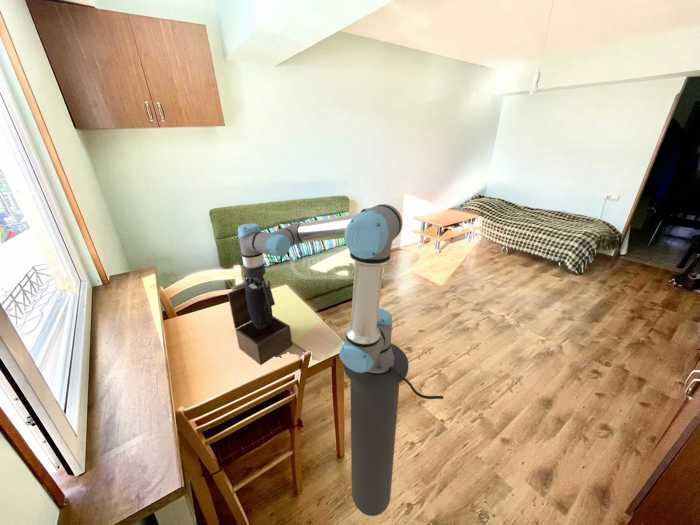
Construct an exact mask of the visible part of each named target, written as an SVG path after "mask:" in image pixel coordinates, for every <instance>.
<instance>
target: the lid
mask: <svg viewBox="0 0 700 525" xmlns="http://www.w3.org/2000/svg"><path fill="white" fill-rule="evenodd" d="M230 289H231V291H230V292H227V297H228V302H229V308H230V311H231V317H232V322H233V327H234V330H235V329H237V328H239V327H241V326H243V325H245V324H247V323H249V322H251V321H252V320H251V318H250V315H249V311H248V306H247V301H246V294H245V281H243V282H241V283H238V284H236V285H232V286H231V288H230Z"/></svg>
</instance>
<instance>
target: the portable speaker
mask: <svg viewBox="0 0 700 525" xmlns="http://www.w3.org/2000/svg"><path fill="white" fill-rule="evenodd" d="M245 292H246V301H247V306H248V311H249V315H250V318H251V320H252V323H253V325H254V326H255V327H256V328H257V329H264V328H266V327H267V325H269V324H270V323H271V322H272V319H270V320H268V321H266V317H265V310H264V306H265V304H264V299H263V297H265V294H264V291H263V287H262V285H261V286H259V287H256V286H255V285H254V283H252V284H251V283H250V282H247V283H246V284H245Z"/></svg>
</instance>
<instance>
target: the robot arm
mask: <svg viewBox="0 0 700 525" xmlns="http://www.w3.org/2000/svg"><path fill="white" fill-rule="evenodd" d="M402 229H403V218H402V215H401V213H400V211H399V210H398V209H397V208H395V207H394V206H392V205H390V204H386V203H383V204H382V203H381V204H376V205H375V206H372V207H368V208H363V209H361V210H360V212H358V213H351V214H345V215H340V216H334V217H329V218H322V219H318V220H312V221H306V222H300V221H299V222H294V223H292V224H289V225H287V226H285V227H283V228H280V229H277V230H274V231H271V232H266V231H261V228H260V225H259V224H257V223H253V222H251V223H244V224H241V225H239V226H238V227H237V236H238V241H239V247H240V251H241V258H242V259H241V260H242V264H243V270H244V274H243V277H244V282H245V284H246V283H247V282H250V283H251V284H252V283H254V285H255V286H256V287H259V286H261V285H262V287H263V291H264V294H265V297H263V299H264V304H265V306H264V310H265V317H266V321H268V320H270V319H272V318H273V316H274V315H273V308H272V307H273V306H274V305H276V303H275V299H274V296H273V292H272V288H271V282H270V281H269V280H265V278H264V275H265V274H266V273H267V272H266V265H265V259H264V258H265V257H264V254H265V255H269V256H273V257H284V256H286V255H287V254H288V252H289V251H290V249H291V247H293V246H296V245H298V244H307V243H312V242H313V243H314V242H321V241H328V240H338V239H344V243H345V246H346V247H347V248H348V251H349V258H350V259H351V260H352V261H353V262H354V268H353V270H354V271H353V286H352V298H351V299H352V300H351V313H350V314H351V315H350V323H349V324H348V325H347V326H346V329H345V334H344V335H345V338H344V343H343V344H342V345H341V346H340V349H339V351H338V356H339V359H340V362H342V364H343V363H344V364H345V366H346V367H348V368H349V369H351V370H353V371H355V372H358V373H364V372H366V373H369V374H373V375H380V374H385V373H387V372H389V371H390V370H392V371H393V372H394V373H395V374H397V375H398V376H399V377H400V378H401V379H403V382H405V383H406V384H407V385H408V386H409V387H410V389H411V390H412V392H413V393H414V394H415V395H416V396H418V397H419V398H421V399H426V400H444V396H443V395H424V394H423V393H420V392H418V391H417V390H416V388H415V387H414V385H413V384H412V383H411V382H410V380H408V379H407V377H405V378H404V377H403V376H402V375H401V374H399V373H398V372H397V371H396V370H394V369H393V366H394V354H393V352H392V349H391V343H392V332H393V330H392V329H393V324H394V322H393V315H392V314H391V313H390V312H389V311H388V310H386V309H384V308H380V303H381V293H382V286H383V276H384V267H385V264H387V263H388V262H389V261H390V260H391V252H392V245H393V241H394V240H396V238H397V237H398V236H399V235H400V233H401V231H402ZM245 294H246V292H245Z"/></svg>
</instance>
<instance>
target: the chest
mask: <svg viewBox="0 0 700 525" xmlns="http://www.w3.org/2000/svg"><path fill="white" fill-rule="evenodd" d="M234 330H235V335H236V340H237V344H238V349H239V350H240V351H241V352H243V353H244V354H245V355H247V356H248V357H249V358H251V359H252V360H253V361H255V362H256V363H257V364H259V365H260V366H262V365H264V364H265V363H267V362H268V361H270V360H272V359H273V358H274V357H276V356H277V355H279V354H281V353H282V352H284V351H285V350H287V349H288V348H289V347H291V346H293V341H292V332H291V326H290V325H289V324H288V323H286V322H284V321H283V320H281V319H279V318H277V317H276V316H274V315H273V318H272V322H271V323H270V324H269V325H267V327H266V328H264V329H257V328H256V327H255V326H254V325H253V323H252V321H250V322H248V323H246V324H244V325H242V326H240V327H238V328H236V329H235V328H234Z"/></svg>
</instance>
